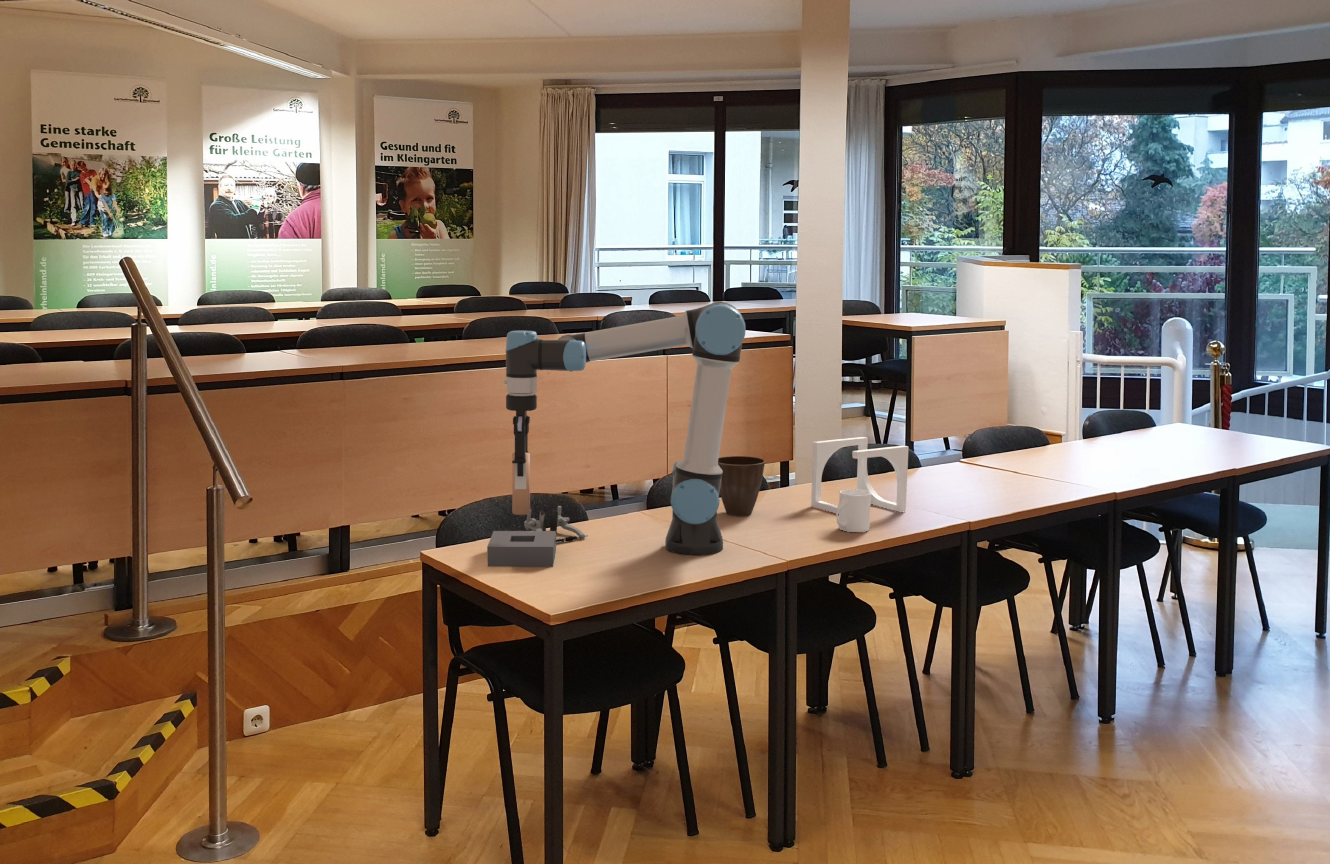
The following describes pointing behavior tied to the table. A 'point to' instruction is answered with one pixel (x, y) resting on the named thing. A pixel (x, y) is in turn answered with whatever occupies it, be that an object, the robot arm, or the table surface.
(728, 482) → the plant pot
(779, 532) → the table surface
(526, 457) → the peg
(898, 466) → the white piece
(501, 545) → the socket block
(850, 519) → the mug
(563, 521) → the bike brake
